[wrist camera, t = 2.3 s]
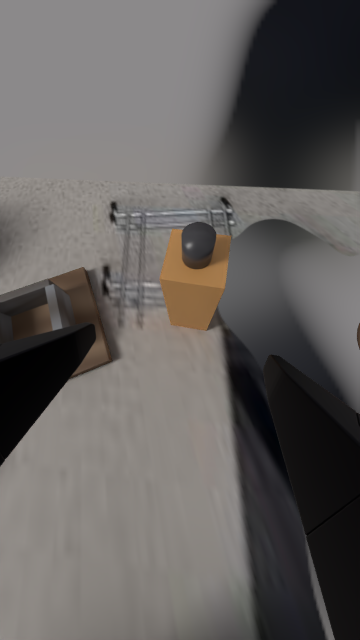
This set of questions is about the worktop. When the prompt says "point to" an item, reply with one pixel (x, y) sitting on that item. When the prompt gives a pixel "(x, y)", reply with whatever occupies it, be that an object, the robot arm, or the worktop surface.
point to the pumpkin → (358, 335)
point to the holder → (54, 313)
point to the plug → (194, 274)
